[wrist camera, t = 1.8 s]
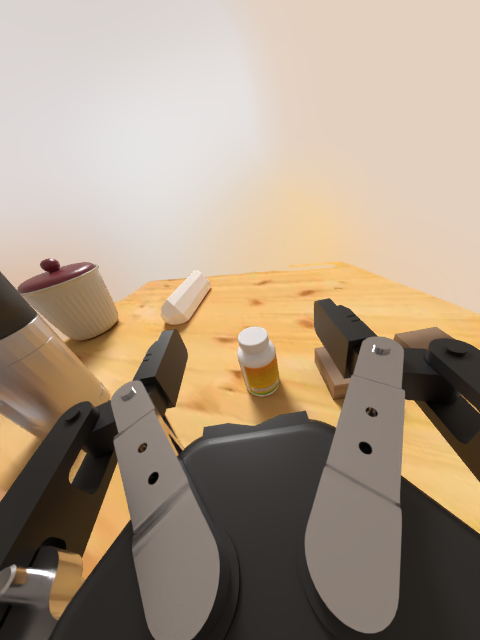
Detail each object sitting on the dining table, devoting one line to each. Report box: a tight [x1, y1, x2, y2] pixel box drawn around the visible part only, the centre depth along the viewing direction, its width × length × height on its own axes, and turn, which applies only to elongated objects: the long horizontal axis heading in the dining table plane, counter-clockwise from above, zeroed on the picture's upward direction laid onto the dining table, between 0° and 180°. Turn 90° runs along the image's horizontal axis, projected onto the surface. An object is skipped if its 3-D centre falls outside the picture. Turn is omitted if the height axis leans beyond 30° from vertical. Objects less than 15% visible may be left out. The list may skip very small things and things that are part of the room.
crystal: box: [161, 270, 211, 325], centre depth 59 cm, size 7×7×24 cm
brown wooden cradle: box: [315, 327, 454, 400], centre depth 28 cm, size 7×18×3 cm, turn 93°
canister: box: [17, 259, 118, 340], centre depth 53 cm, size 18×18×21 cm
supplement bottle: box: [237, 327, 280, 397], centre depth 29 cm, size 5×5×10 cm
